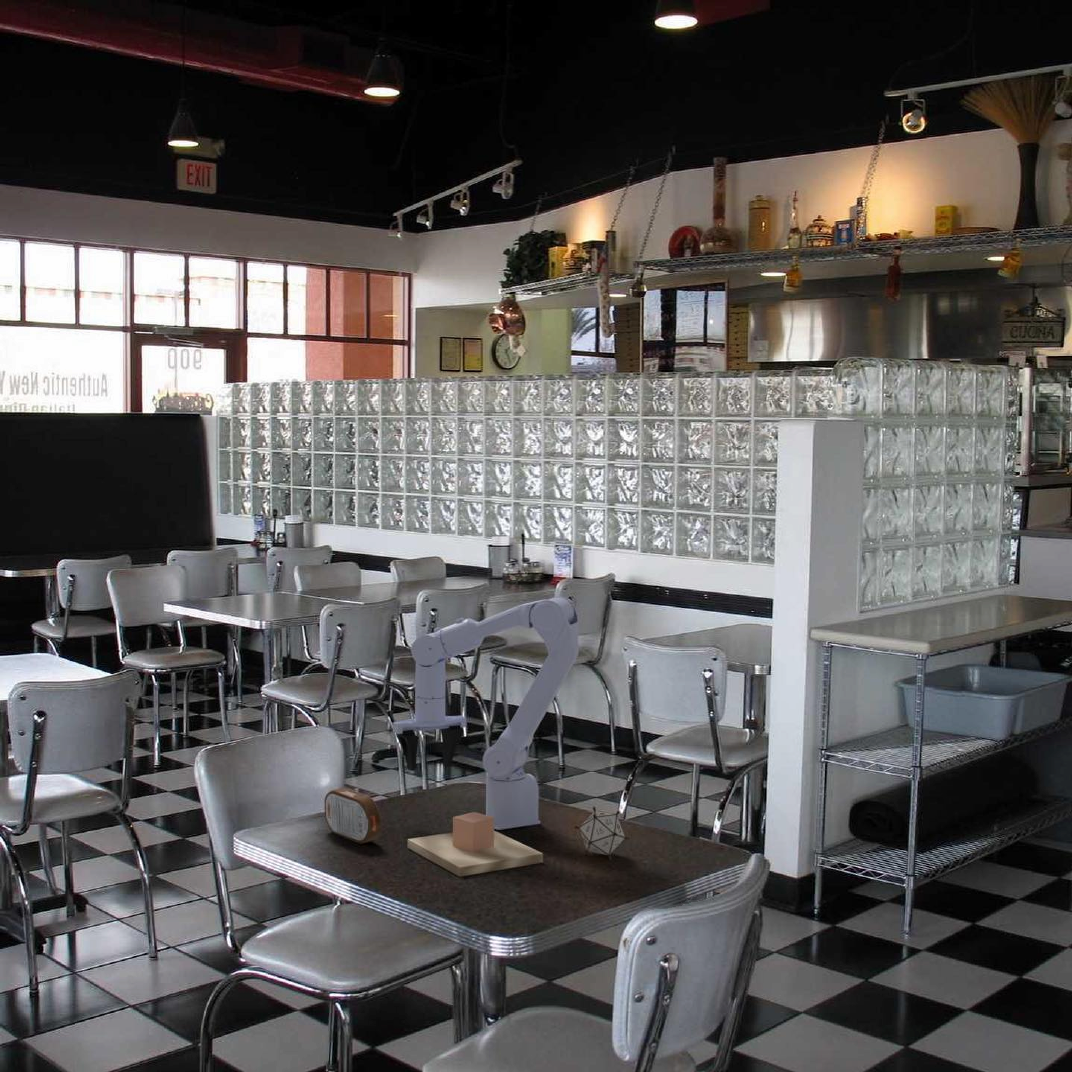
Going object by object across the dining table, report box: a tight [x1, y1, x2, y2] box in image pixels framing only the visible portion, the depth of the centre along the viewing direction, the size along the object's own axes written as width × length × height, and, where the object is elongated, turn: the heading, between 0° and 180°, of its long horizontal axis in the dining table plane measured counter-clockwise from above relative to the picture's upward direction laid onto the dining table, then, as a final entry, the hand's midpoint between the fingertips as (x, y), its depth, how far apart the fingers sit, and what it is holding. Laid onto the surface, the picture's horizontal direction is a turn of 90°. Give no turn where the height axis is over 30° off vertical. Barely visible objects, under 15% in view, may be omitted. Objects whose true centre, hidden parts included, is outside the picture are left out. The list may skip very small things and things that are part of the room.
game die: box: [573, 805, 631, 861], centre depth 225 cm, size 9×8×10 cm
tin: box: [324, 786, 382, 844], centre depth 234 cm, size 15×3×8 cm, turn 42°
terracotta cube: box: [452, 811, 495, 852], centre depth 225 cm, size 5×5×5 cm
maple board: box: [407, 830, 544, 878], centre depth 225 cm, size 16×19×2 cm
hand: (429, 767), depth 249 cm, fingers open, 7 cm apart
